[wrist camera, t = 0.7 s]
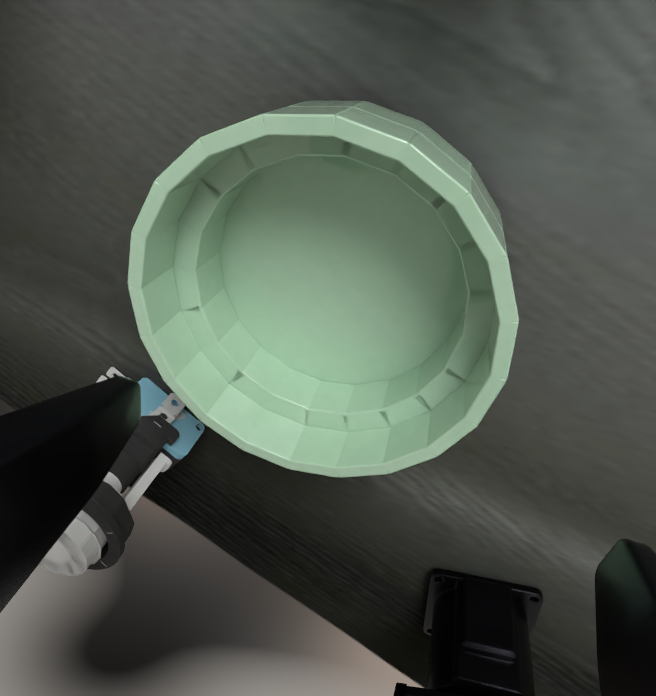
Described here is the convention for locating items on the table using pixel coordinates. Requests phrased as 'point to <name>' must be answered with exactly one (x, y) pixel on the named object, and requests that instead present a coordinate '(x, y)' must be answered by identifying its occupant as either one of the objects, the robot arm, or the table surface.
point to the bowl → (326, 288)
